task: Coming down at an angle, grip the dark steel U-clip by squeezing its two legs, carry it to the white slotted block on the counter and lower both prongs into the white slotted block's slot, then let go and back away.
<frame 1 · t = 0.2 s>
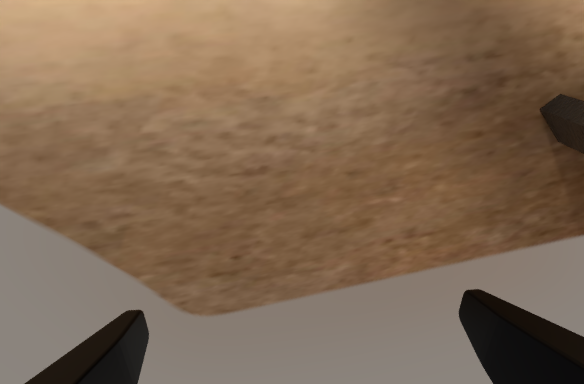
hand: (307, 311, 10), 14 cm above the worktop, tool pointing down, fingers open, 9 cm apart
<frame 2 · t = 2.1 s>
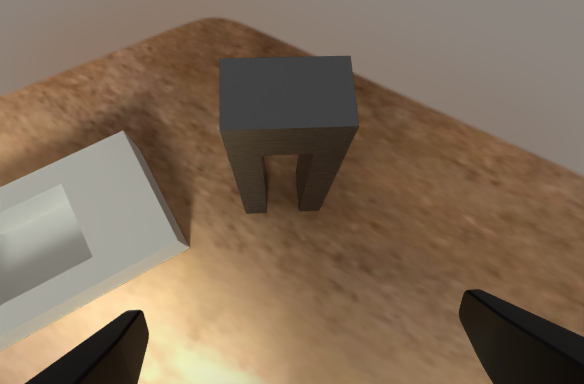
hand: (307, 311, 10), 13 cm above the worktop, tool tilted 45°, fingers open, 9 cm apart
white slotted block: (47, 256, 23), on the worktop
clip: (281, 191, 25), on the worktop
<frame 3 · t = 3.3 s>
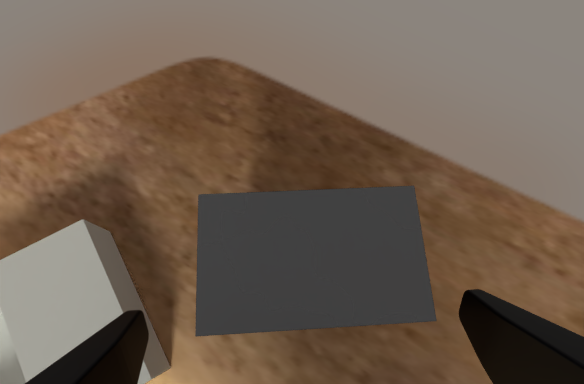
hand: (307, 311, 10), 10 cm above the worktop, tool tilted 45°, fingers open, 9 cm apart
clip: (290, 286, 20), on the worktop
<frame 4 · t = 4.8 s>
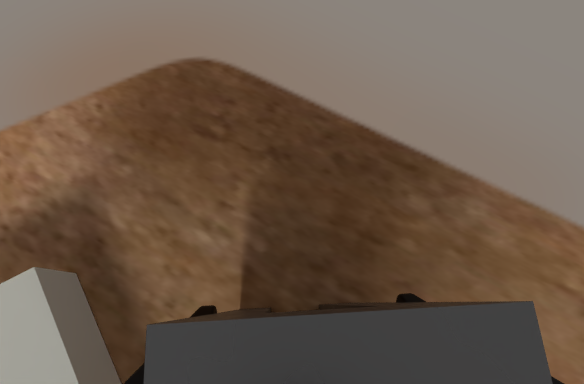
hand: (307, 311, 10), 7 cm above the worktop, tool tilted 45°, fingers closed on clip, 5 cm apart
clip: (297, 341, 16), on the worktop, touching gripper
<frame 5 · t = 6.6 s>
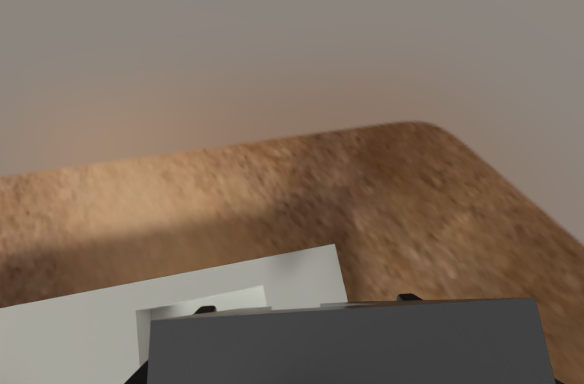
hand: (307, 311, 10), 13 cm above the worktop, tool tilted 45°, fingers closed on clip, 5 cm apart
white slotted block: (215, 339, 22), on the worktop
clip: (297, 340, 16), point 7 cm above the worktop, touching gripper
when the fingers open (8 cm above the worktop, at t = 8.5 s): clip drops 1 cm, resting on white slotted block.
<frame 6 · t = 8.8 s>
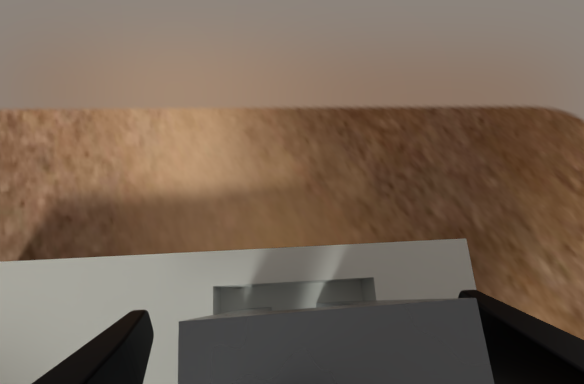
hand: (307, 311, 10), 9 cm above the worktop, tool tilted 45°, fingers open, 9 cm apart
white slotted block: (294, 337, 18), on the worktop
clip: (296, 337, 17), resting on white slotted block
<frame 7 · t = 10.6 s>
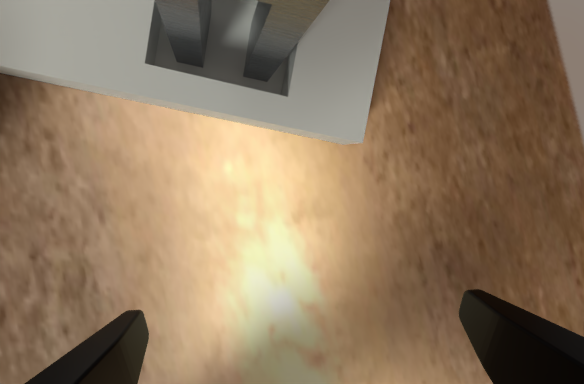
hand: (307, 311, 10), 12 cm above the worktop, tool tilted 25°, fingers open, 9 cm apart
white slotted block: (225, 47, 21), on the worktop
clip: (227, 45, 20), resting on white slotted block
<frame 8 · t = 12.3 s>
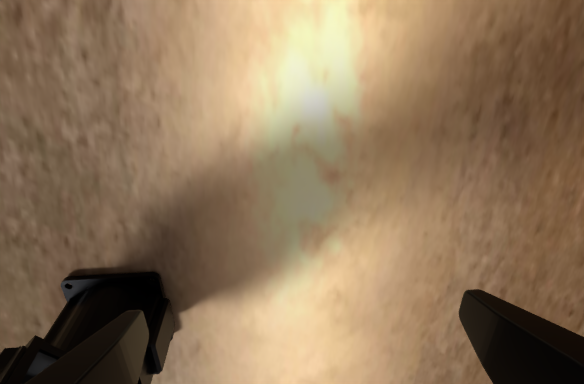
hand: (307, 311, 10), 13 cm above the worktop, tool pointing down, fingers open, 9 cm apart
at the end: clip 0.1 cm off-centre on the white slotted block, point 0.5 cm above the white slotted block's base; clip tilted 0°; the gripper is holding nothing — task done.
